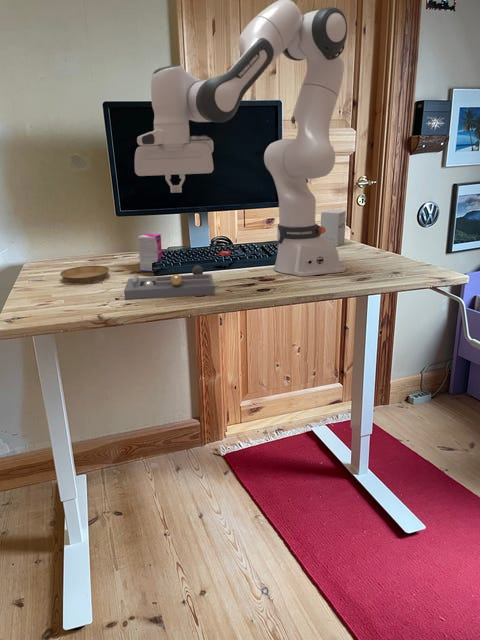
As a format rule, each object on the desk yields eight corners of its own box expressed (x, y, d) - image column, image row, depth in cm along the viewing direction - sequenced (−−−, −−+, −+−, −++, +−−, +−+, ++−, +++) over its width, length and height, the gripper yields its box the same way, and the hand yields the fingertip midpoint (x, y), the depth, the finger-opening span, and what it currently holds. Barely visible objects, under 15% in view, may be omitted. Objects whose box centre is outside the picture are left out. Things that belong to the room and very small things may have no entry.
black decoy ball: (203, 274, 147) (202, 263, 146) (203, 277, 144) (203, 266, 143) (192, 275, 146) (191, 264, 145) (192, 278, 143) (191, 267, 142)
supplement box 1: (157, 272, 160) (154, 237, 156) (140, 272, 161) (136, 236, 157) (163, 268, 165) (161, 233, 161) (146, 267, 166) (143, 233, 162)
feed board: (211, 282, 148) (211, 269, 146) (214, 294, 137) (213, 280, 135) (129, 286, 146) (128, 273, 144) (124, 299, 134) (123, 285, 133)
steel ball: (157, 282, 141) (146, 277, 141) (156, 286, 138) (146, 280, 138) (151, 292, 142) (141, 286, 141) (150, 295, 139) (140, 290, 138)
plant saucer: (62, 275, 161) (61, 267, 160) (109, 271, 164) (108, 263, 163) (59, 288, 147) (58, 279, 146) (111, 283, 151) (110, 274, 150)
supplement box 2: (337, 247, 187) (338, 213, 183) (319, 245, 191) (320, 211, 187) (345, 243, 193) (346, 210, 189) (327, 241, 197) (328, 209, 192)
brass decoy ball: (182, 284, 138) (181, 272, 137) (182, 287, 135) (181, 276, 134) (171, 284, 138) (170, 273, 136) (170, 288, 135) (169, 276, 134)
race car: (227, 269, 162) (226, 257, 161) (211, 269, 163) (210, 257, 162) (237, 259, 174) (237, 248, 173) (222, 259, 175) (222, 248, 174)
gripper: (212, 135, 131) (215, 189, 136) (133, 137, 129) (138, 192, 134) (213, 135, 125) (216, 192, 130) (130, 138, 123) (136, 195, 128)
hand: (176, 192), depth 132 cm, fingers closed
